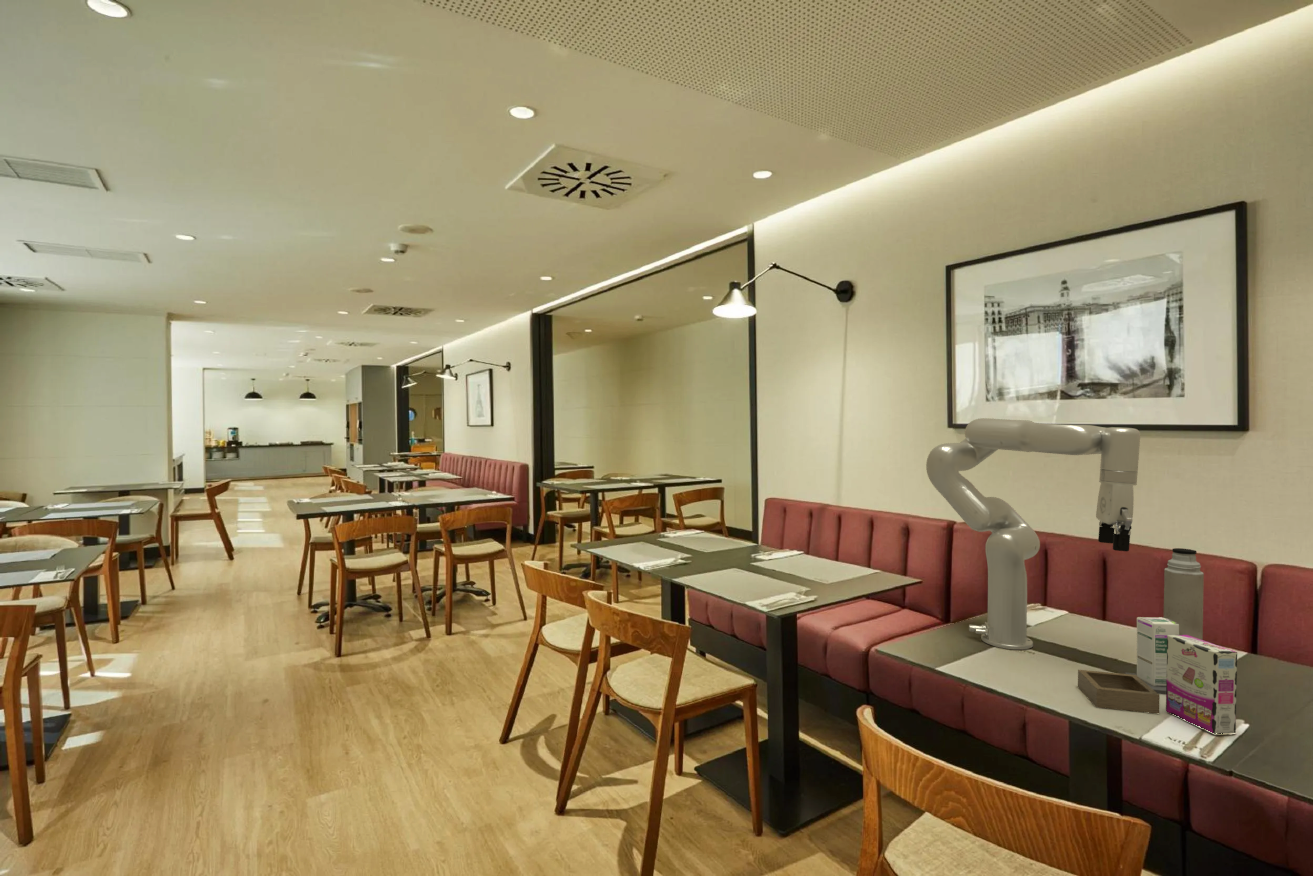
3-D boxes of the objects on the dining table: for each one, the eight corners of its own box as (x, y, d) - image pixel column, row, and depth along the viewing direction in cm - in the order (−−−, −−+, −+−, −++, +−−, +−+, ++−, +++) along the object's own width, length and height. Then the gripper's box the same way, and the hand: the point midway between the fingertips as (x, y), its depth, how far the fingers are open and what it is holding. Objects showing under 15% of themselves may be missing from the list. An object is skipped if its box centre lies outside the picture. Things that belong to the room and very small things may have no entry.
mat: (1143, 692, 146) (1143, 688, 146) (1124, 675, 156) (1124, 672, 156) (1195, 697, 144) (1195, 693, 143) (1173, 680, 153) (1173, 677, 153)
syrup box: (1153, 686, 147) (1154, 623, 147) (1135, 676, 153) (1136, 615, 153) (1179, 687, 147) (1180, 623, 147) (1160, 677, 153) (1161, 616, 153)
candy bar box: (1238, 735, 126) (1239, 651, 125) (1214, 736, 125) (1215, 652, 125) (1186, 710, 137) (1187, 633, 137) (1164, 711, 136) (1165, 634, 136)
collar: (1096, 707, 138) (1096, 688, 138) (1077, 686, 149) (1078, 669, 149) (1159, 714, 135) (1159, 695, 135) (1135, 692, 146) (1135, 675, 146)
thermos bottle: (1157, 648, 175) (1159, 545, 175) (1193, 652, 172) (1195, 547, 172) (1170, 658, 167) (1172, 550, 167) (1208, 662, 165) (1210, 553, 164)
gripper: (1088, 473, 168) (1083, 538, 169) (1113, 480, 152) (1108, 552, 153) (1122, 475, 166) (1117, 541, 167) (1151, 482, 150) (1145, 555, 151)
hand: (1113, 546), depth 160 cm, fingers open, 9 cm apart
